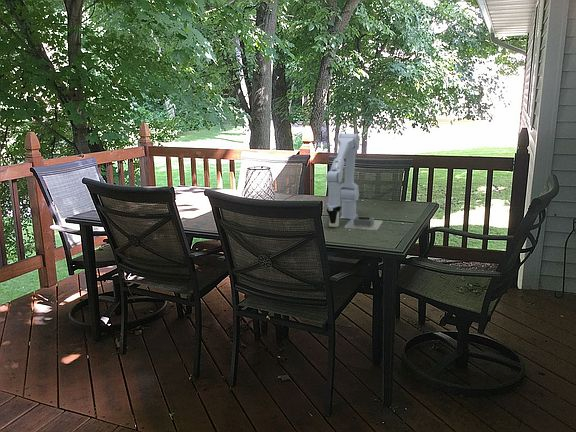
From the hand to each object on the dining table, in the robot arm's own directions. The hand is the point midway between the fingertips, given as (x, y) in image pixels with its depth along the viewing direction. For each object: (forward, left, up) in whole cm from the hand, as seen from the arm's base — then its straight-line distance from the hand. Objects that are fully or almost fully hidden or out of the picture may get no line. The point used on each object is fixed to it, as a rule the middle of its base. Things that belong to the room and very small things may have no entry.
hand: (334, 222), depth 252 cm
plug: (0, 0, -2) cm, 2 cm away
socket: (-5, +14, -2) cm, 15 cm away
